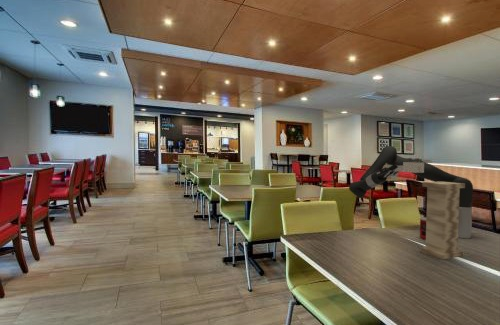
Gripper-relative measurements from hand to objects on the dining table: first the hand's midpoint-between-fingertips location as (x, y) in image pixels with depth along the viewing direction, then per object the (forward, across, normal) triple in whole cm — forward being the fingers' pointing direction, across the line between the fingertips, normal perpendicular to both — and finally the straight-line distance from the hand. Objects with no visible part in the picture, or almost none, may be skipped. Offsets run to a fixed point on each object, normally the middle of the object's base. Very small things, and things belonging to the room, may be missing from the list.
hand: (398, 165), depth 146 cm
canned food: (-15, +17, +38) cm, 44 cm away
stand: (+1, 0, +46) cm, 46 cm away
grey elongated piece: (+1, 0, +4) cm, 4 cm away
